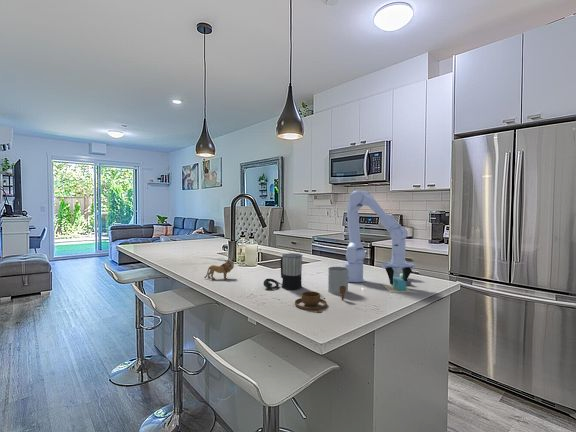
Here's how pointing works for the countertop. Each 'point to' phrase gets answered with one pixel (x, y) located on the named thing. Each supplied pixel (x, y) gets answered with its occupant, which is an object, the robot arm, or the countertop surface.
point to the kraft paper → (394, 289)
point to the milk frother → (288, 272)
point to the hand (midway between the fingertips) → (397, 284)
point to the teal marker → (399, 284)
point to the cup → (337, 279)
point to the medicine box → (397, 271)
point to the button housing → (408, 282)
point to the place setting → (315, 300)
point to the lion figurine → (221, 269)
